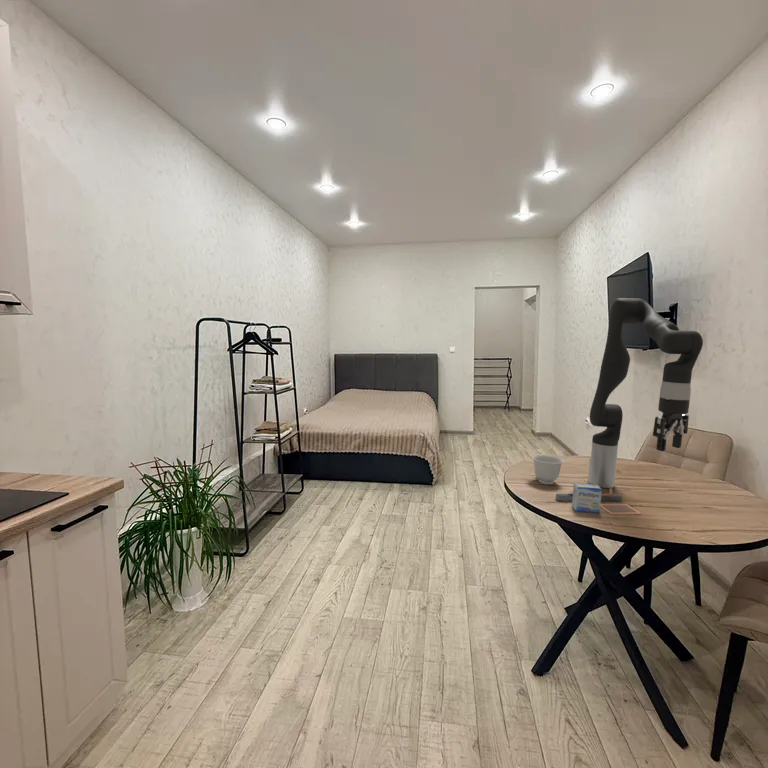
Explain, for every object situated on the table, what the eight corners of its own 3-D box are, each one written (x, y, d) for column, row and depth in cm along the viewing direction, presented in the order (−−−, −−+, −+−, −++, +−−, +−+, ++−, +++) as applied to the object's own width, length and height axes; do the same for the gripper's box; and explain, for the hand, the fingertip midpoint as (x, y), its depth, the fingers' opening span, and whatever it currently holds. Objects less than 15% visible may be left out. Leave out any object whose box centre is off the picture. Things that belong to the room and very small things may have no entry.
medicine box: (575, 511, 141) (577, 487, 140) (571, 506, 145) (573, 482, 145) (600, 513, 140) (602, 488, 139) (595, 508, 144) (597, 484, 143)
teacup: (552, 475, 179) (554, 453, 178) (566, 487, 164) (568, 463, 163) (524, 474, 179) (525, 452, 178) (536, 486, 164) (538, 462, 163)
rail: (555, 499, 152) (556, 487, 151) (618, 499, 153) (619, 487, 153) (558, 501, 150) (559, 489, 149) (621, 501, 151) (622, 489, 151)
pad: (597, 505, 147) (597, 503, 147) (626, 504, 148) (626, 503, 148) (610, 514, 139) (610, 513, 139) (641, 514, 140) (641, 513, 140)
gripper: (674, 394, 132) (668, 443, 134) (648, 396, 125) (642, 448, 127) (701, 397, 125) (694, 449, 127) (674, 400, 118) (668, 455, 120)
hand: (668, 449), depth 127 cm, fingers open, 8 cm apart
